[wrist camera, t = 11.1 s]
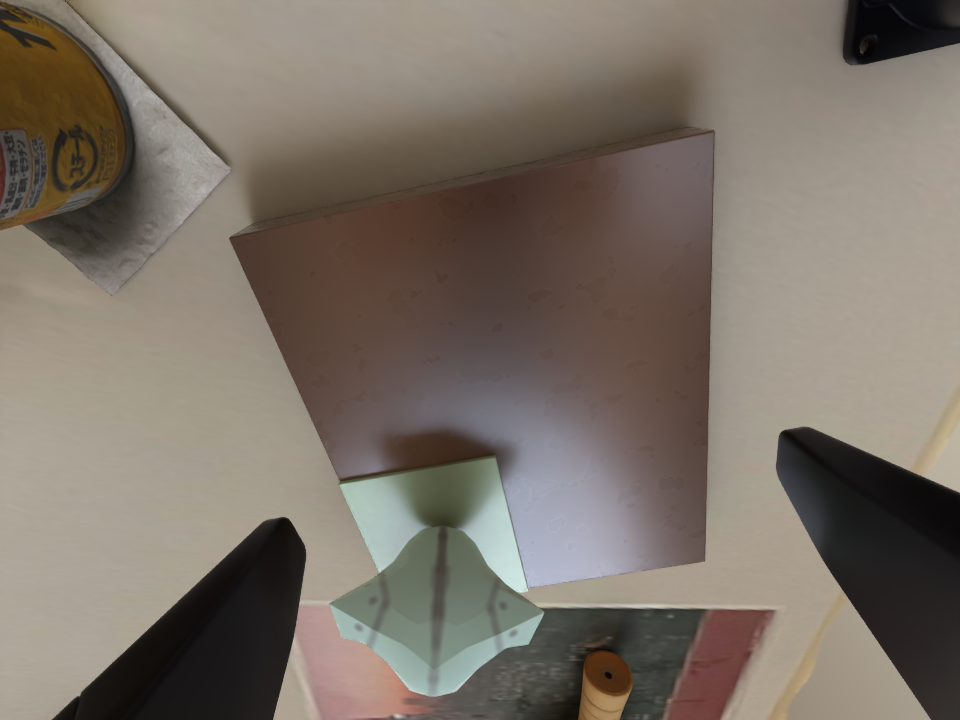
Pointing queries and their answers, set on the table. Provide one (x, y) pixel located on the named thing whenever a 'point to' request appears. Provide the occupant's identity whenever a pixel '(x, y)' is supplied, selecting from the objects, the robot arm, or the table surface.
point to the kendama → (604, 686)
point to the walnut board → (512, 355)
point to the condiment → (90, 146)
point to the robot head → (436, 612)
